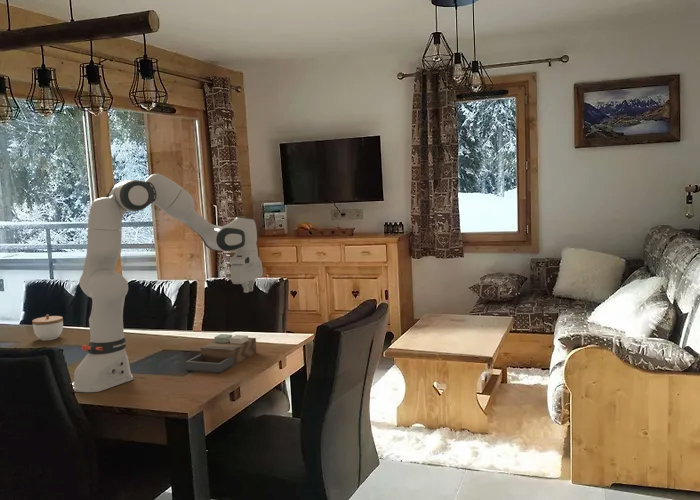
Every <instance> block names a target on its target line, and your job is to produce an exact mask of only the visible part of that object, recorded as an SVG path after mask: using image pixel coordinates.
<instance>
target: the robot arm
mask: <svg viewBox="0 0 700 500" xmlns="http://www.w3.org/2000/svg"><path fill="white" fill-rule="evenodd" d="M151 204H152V205H154V206H156V207H158V208H159V209H160V210H161V211H163V212H164V213H165V214H167V215H169V216H170V217H172V218H174V219H176V220H177V221H180V222H181V223H184V225H185V226H187V227H188V228H189V229H191V230H192V231H193V232H195V233H196V234H197V235H198V236H199V237H200V239H201V240H202V242H203V244H204V246H206V247H207V249H209V250H211V251H221V252H231V251H234V254H233V256H232V257H230V258H229V265H230V281H231V282H232V284H234V285H241V286H242V289H243V293H246V294H247V293H249V292H253V291H254V285H255V280H256V279H260V278H262V277H263V275H264V270H263V262H262V260H261V258H260V256H259V251H258V246H257V242H258V241H257V240H258V233H257V232H258V230H257V225H256V221H255V220H254V219H253V218H251V217H246V216H236V217H235V218H234V219H233V220H231V221H230V222H229V223H226V224H225V225H223V226H222V225H216V224H213V223H210V221H208V220H207V219H205V218H204V217H203V216H202V215H201V214H199V213H198V212H197V211H196V209H195V200H194V198H193V197H192V195H191V194H190V193H189V192H188V191H187V190H185V188H183V187H182V186H181V185H180V184H178V183H177V182H175V181H174V180H172V179H170V178H168V177H167V176H164V175H162V174H161V173H153V174H151V175H150V176H148V177H147V178H146V179H145V181H144V180H138V179H135V180H134V179H125V180H121V181H120V180H119V181H117V182H116V183H115V184H114V185H113V186H111V188H110V190H109V192H108V193H107V194H106V196H105V197H99V198H96V199H95V200H93V201H92V202H91V205H90V208H89V214H88V223H87V242H86V245H87V246H86V247H87V248H86V255H85V260H84V265H83V269H82V274H81V276H80V278H79V287H80V288H81V291H82V292H83V293H84V294H85V295H86V296H87V297H89V298H91V300H92V305H91V312H90V316H89V318H88V322H89V323H88V325H89V339H90V340H89V344H82V346H81V350H82V351H86V352H87V354H86V355H85V357H84V358H83V359H82V360H81V361H80V363H79V364H78V365H77V367H76V368H75V370H74V373H73V382H71V383H72V385H73V389H74V391H73V392H76V393H77V392H78V393H98V392H102V391H105V390H107V389H110V388H113V387H116V386H119V385H121V384H125V383H127V382H130V381H133V380H134V376H133V374H132V372H131V367H130V366H131V365H130V361H129V356H128V354H127V351H126V348H127V340H126V336H125V332H124V331H125V330H124V321H123V320H124V317H123V316H124V306H125V299H126V296H127V294H128V292H129V283H128V281H127V279H126V277H124V276H123V275H122V274H121V273H119V272H117V271H116V267H117V264H118V259H119V257H120V255H121V253H122V233H123V232H122V231H123V230H122V229H123V227H122V226H123V223H122V222H123V218H124V216H125V213H127V212H138V211H139V212H140V211H142V210H144V209H146V208H147V207H149V206H150V205H151Z"/></svg>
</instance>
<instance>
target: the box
mask: <svg viewBox="0 0 700 500" xmlns="http://www.w3.org/2000/svg"><path fill="white" fill-rule="evenodd" d="M234 366H235V365H234V358H233V356H231V357H229V358H227V359H225V360H224V361H222V362H220V363H214V362H203V354H201V353H200V354H198V355H196V356H194V357H192V358H190V359H188V360H186V361H185V371H186V372H195V373H196V372H197V373H207V374H208V373H210V374H222V373H223V372H225V371H227V370H229V369H230V368H232V367H234Z"/></svg>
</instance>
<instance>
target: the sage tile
mask: <svg viewBox="0 0 700 500" xmlns="http://www.w3.org/2000/svg"><path fill="white" fill-rule="evenodd" d="M231 337H233V335H232V334H227V333H226V334H225V333H224V334H223V333H221V334H218V335H216V336H214V338H213V339H214V340H213V342H214V341H215V342H220V343H227V342H229V341H230V338H231Z"/></svg>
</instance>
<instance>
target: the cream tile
mask: <svg viewBox="0 0 700 500" xmlns="http://www.w3.org/2000/svg"><path fill="white" fill-rule="evenodd" d="M248 338H249V336H248V335H246V334H245V335H243V334H242V335H241V334H236V335H234V336H233V335H232V337H231V338H230V343H236V344H243V343H244V342H246V341H248Z"/></svg>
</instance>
